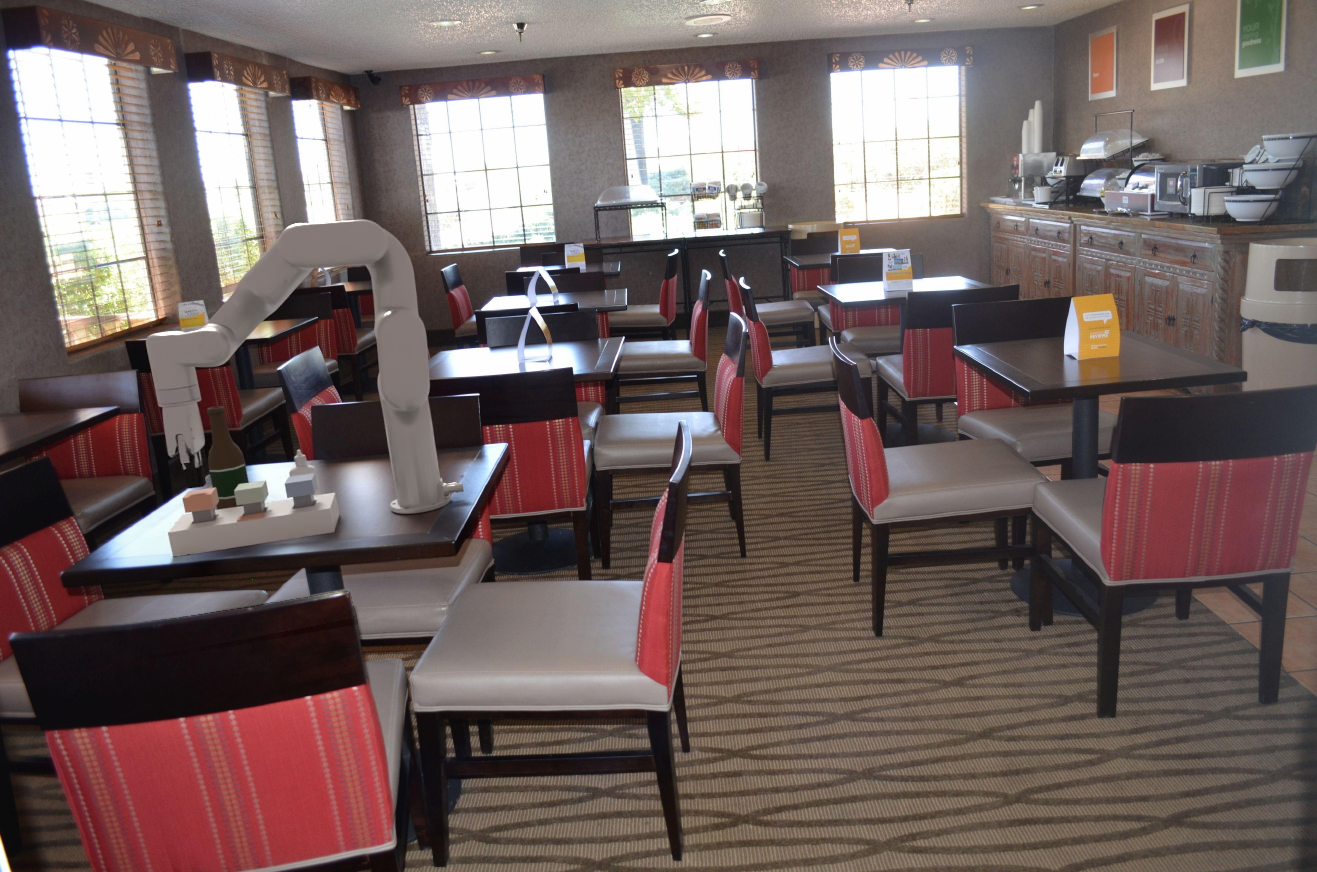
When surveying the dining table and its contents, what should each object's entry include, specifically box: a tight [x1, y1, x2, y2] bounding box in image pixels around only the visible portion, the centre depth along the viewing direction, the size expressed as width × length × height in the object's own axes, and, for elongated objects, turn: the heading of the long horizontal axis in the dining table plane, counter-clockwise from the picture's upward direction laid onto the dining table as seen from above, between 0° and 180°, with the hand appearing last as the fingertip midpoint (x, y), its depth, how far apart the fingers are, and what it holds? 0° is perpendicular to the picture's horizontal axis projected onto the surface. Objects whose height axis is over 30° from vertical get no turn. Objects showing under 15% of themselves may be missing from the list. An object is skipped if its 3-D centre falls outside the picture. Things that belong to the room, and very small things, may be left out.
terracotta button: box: [182, 487, 219, 524], centre depth 190 cm, size 5×5×8 cm
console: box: [167, 492, 340, 557], centre depth 193 cm, size 30×12×5 cm, turn 103°
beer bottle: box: [206, 405, 250, 510], centre depth 208 cm, size 8×8×24 cm
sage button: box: [234, 480, 269, 515], centre depth 192 cm, size 5×5×8 cm
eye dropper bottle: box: [288, 449, 321, 496], centre depth 213 cm, size 4×6×12 cm
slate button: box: [284, 473, 317, 509], centre depth 194 cm, size 5×5×8 cm
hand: (196, 486), depth 189 cm, fingers closed
